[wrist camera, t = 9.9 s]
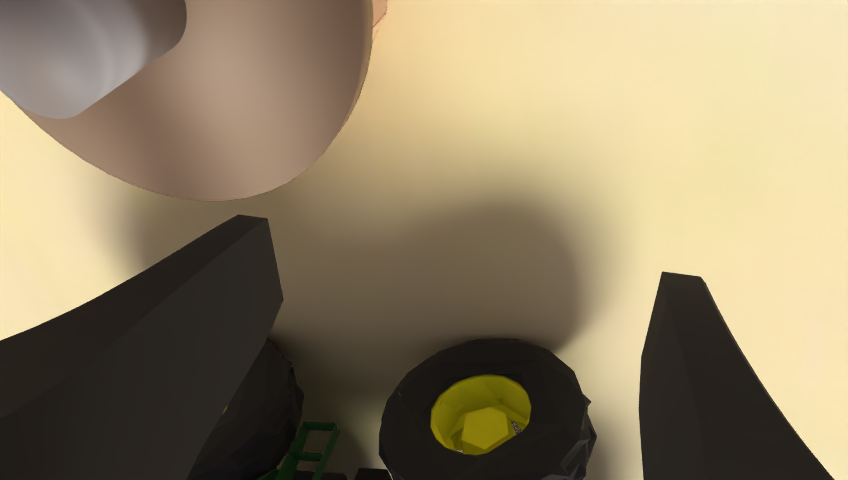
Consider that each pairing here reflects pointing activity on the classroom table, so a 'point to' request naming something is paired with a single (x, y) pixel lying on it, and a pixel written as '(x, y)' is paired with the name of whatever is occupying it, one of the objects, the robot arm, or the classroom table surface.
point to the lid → (188, 85)
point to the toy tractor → (419, 421)
